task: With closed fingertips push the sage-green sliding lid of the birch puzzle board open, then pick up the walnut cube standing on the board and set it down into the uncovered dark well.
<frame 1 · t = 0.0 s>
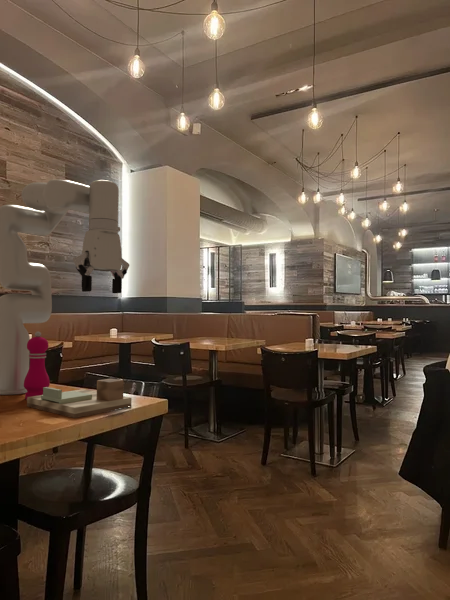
hand: (102, 292, 120), 31 cm above the table, fingers open, 9 cm apart
board: (79, 406, 125), on the table
pepper mill: (36, 399, 136), on the table
lid: (66, 392, 122), point 4 cm above the table, slide at 0.0 cm
walnut cube: (109, 398, 123), point 2 cm above the table, touching board
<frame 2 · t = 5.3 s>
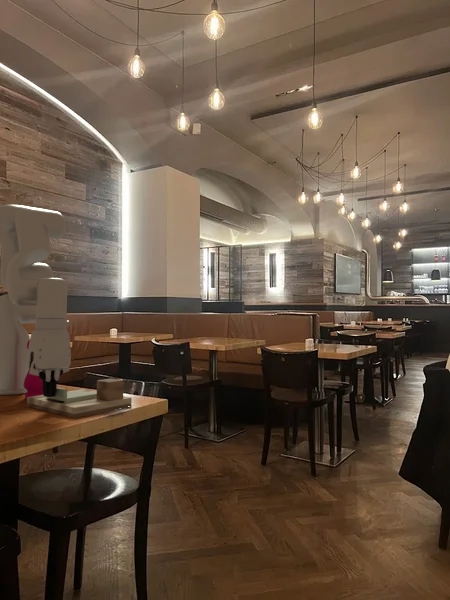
hand: (49, 396, 118), 4 cm above the table, fingers closed
lid: (71, 392, 123), point 4 cm above the table, slide at 1.6 cm, touching gripper
everything else where it was.
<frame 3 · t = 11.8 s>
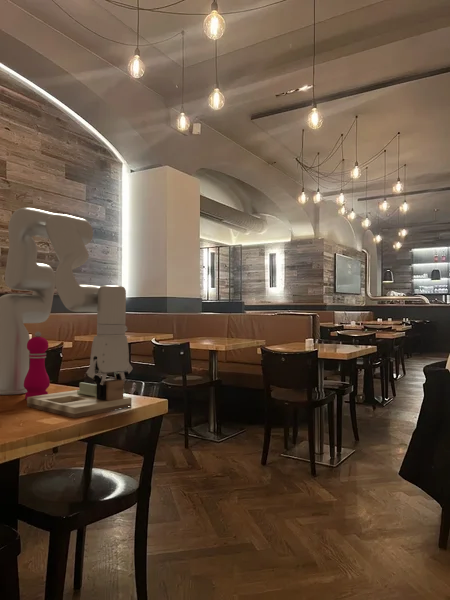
hand: (110, 397, 123), 3 cm above the table, fingers closed on walnut cube, 5 cm apart
lid: (101, 387, 131), point 4 cm above the table, slide at 11.1 cm
walnut cube: (109, 398, 123), point 3 cm above the table, touching board, gripper
everything else where it was.
when the fingers open (3 cm above the table, at t = 16.4 s): walnut cube drops 1 cm, resting on board.
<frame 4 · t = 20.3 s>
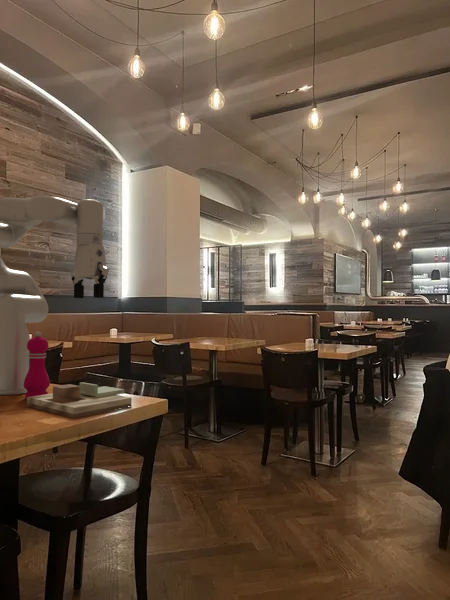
hand: (88, 297, 137), 30 cm above the table, fingers open, 9 cm apart
walnut cube: (66, 405, 122), point 1 cm above the table, touching board
everything else where it was.
at the end: lid slide at 11.1 cm; walnut cube 0.1 cm from the target spot on the board, point 1.0 cm above the board's base; walnut cube tilted 0° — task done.
